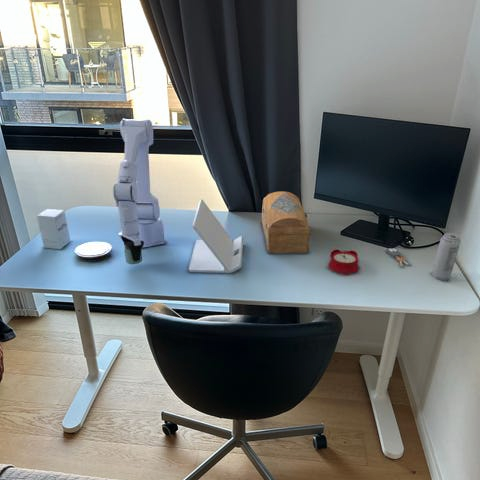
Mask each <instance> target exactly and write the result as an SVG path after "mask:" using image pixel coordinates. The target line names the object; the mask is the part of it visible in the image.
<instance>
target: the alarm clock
mask: <svg viewBox="0 0 480 480" xmlns="http://www.w3.org/2000/svg"><path fill="white" fill-rule="evenodd" d="M358 256H359V255H358V253H357V251H355V250H345V251H343V249H342V250H340V249H338V248H337V249H333V250H331V252H330V254H329V257H330V261H329V262H328V266H327V267H328V268H329V270H331V271H333V272H335V273H338V274H342V276H346V275H350V274H354V273H357V272H358V271H359V269H360V266H359V257H358Z"/></svg>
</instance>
